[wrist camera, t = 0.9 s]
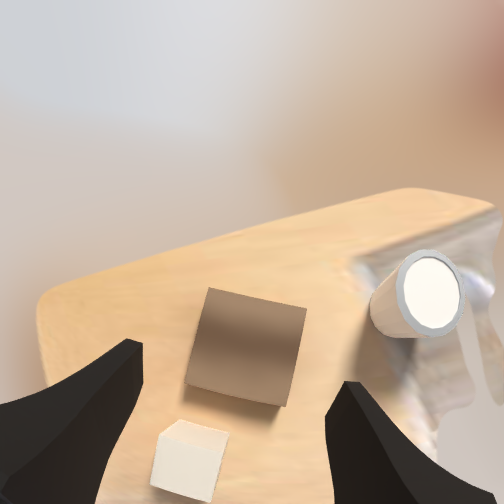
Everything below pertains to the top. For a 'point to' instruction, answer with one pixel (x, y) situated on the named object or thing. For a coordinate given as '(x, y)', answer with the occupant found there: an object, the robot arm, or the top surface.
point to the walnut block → (246, 347)
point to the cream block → (189, 460)
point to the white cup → (419, 297)
